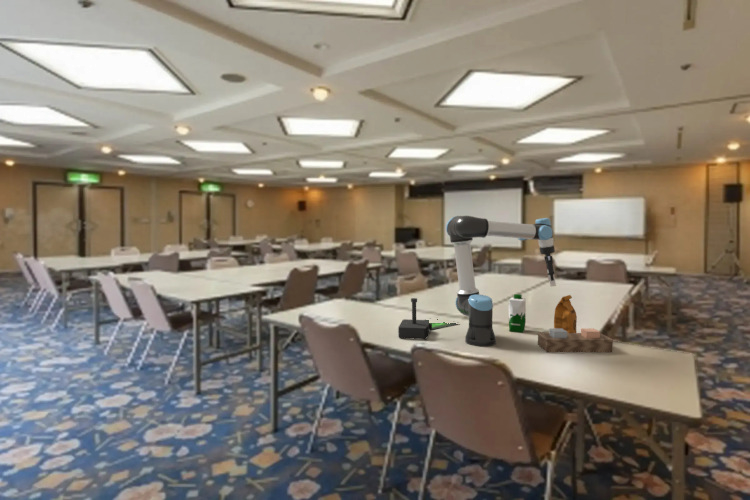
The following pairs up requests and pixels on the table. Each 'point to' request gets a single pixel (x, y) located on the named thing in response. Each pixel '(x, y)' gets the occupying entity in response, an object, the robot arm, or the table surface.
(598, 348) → the brown woven basket
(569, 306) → the coffee package
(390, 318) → the table surface
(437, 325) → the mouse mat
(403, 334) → the black joystick
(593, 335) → the terracotta key
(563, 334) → the slate key
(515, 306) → the milk carton
